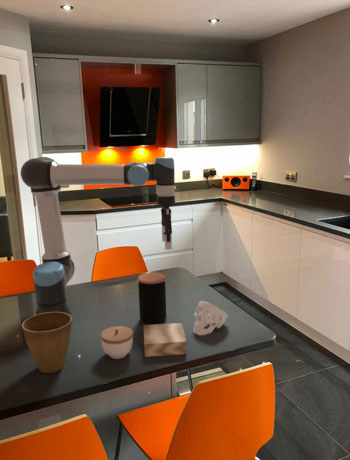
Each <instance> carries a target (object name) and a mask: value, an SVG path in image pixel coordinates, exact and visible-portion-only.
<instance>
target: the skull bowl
mask: <svg viewBox="0 0 350 460" xmlns="http://www.w3.org/2000/svg"><path fill="white" fill-rule="evenodd" d="M193 318H194V319H195V322H194V323H193V326H194V328H193V331H192V332H193V334H195V335H197V336H206V335H210V334H211V333H213V331H214V329H220V328H221V327H222V326H223V325H224V323H225V322H226V320H227V319H228V314H227V313H226V312H225V311H223V310H222V309H221V308H219V307H218V306H216V305H214V304H212V303H210V302H207V301H204V300H200V301H199V303H198V305H197V307H196V308H195V312H194V315H193Z"/></svg>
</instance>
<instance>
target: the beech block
mask: <svg viewBox="0 0 350 460" xmlns="http://www.w3.org/2000/svg"><path fill="white" fill-rule="evenodd" d="M143 342H144V357H145V358H146V357H147V358H148V357H150V358H151V357H160V356H161V357H162V356H173V355H174V356H175V355H177V356H178V355H187V354H188V353H187V338H186V335H185V330H184V326H183V323H182V322H174V323H173V322H172V323H160V324H156V325H148V324H143Z"/></svg>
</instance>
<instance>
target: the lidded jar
mask: <svg viewBox="0 0 350 460" xmlns="http://www.w3.org/2000/svg"><path fill="white" fill-rule="evenodd" d="M100 340H101V345H102V346H101V347H102V350H103V351H104V353H105V355H108V357H110V358H111V359H114V360H120V359H123V358H125V357H126V356H128V354H129V352H131V349H132V347H133V343H134V342H133V341H134V331H133V329H132V328H130V327H129V326H122V325H120V326H119V325H118V326H111V327H108V328H106V329H103V331H102V332H101V334H100Z"/></svg>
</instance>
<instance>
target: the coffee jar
mask: <svg viewBox="0 0 350 460" xmlns="http://www.w3.org/2000/svg"><path fill="white" fill-rule="evenodd" d="M137 280H138V283H137V284H138V285H137V286H138V305H139V306H138V307H139V319H140V321H141V322H142V323H143V324H144V325H156V324H163V323H164V322H165V320H166V319H167V293H166V291H167V290H166V282H165V280H166V276H165V275H164V274H162V273H159V272H148V273H143V274H141V275H139V276H138V278H137Z"/></svg>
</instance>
